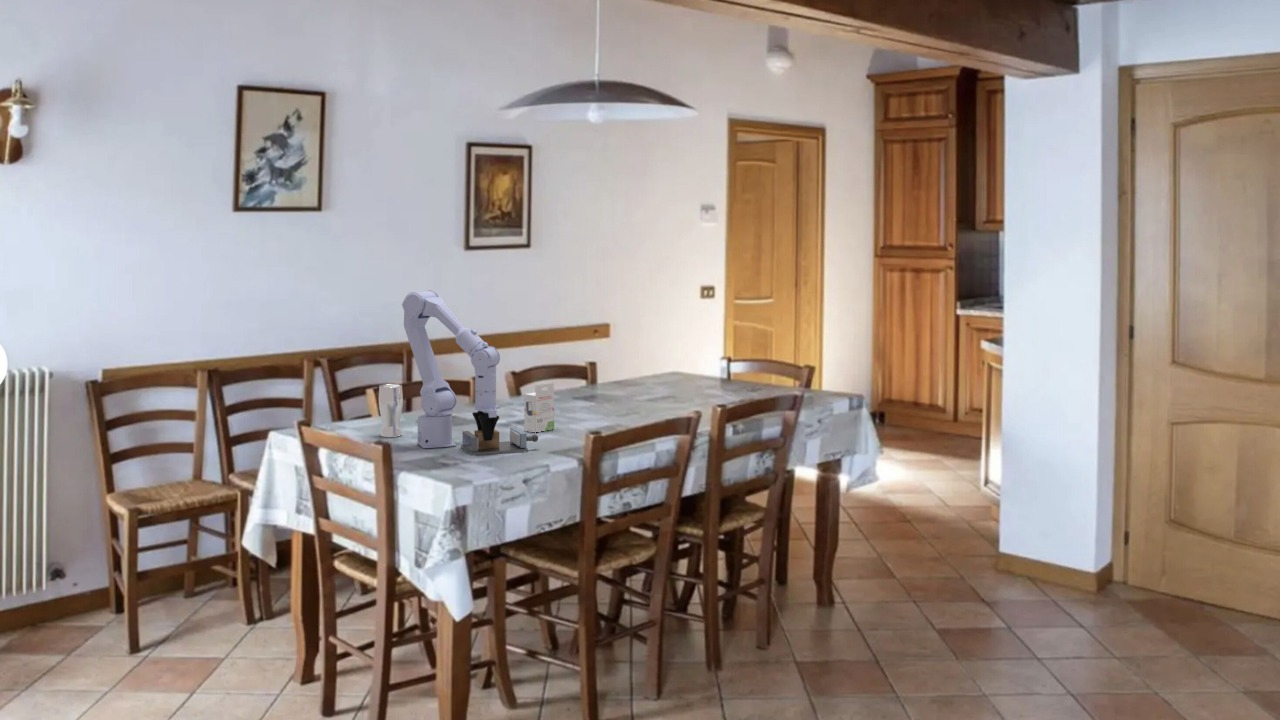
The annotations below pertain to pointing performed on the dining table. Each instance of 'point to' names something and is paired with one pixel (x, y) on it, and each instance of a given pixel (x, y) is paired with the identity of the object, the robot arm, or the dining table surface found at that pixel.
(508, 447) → the vise
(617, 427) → the dining table surface
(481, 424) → the robot arm
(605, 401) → the dining table surface
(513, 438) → the slide jaw
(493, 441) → the block
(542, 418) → the ink box
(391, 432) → the beer glass
